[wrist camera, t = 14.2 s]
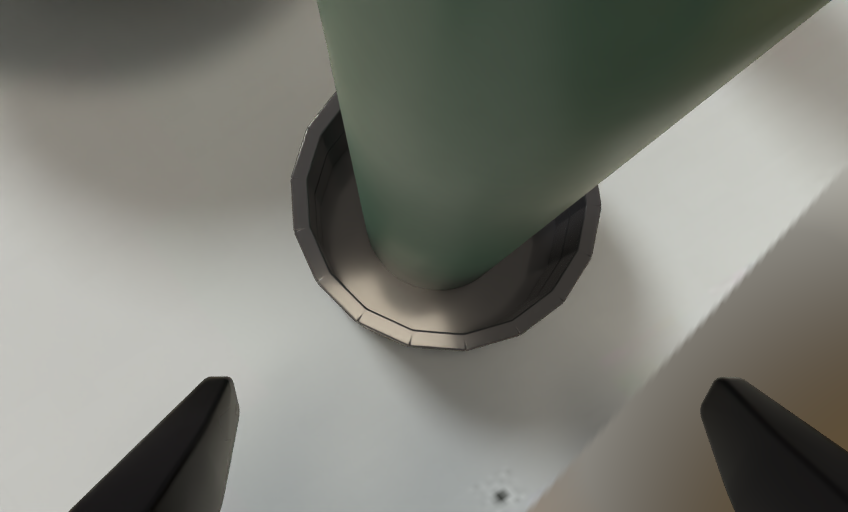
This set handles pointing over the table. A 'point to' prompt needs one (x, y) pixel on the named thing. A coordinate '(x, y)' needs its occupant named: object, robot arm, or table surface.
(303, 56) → the table surface
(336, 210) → the ashtray
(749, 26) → the cylinder
